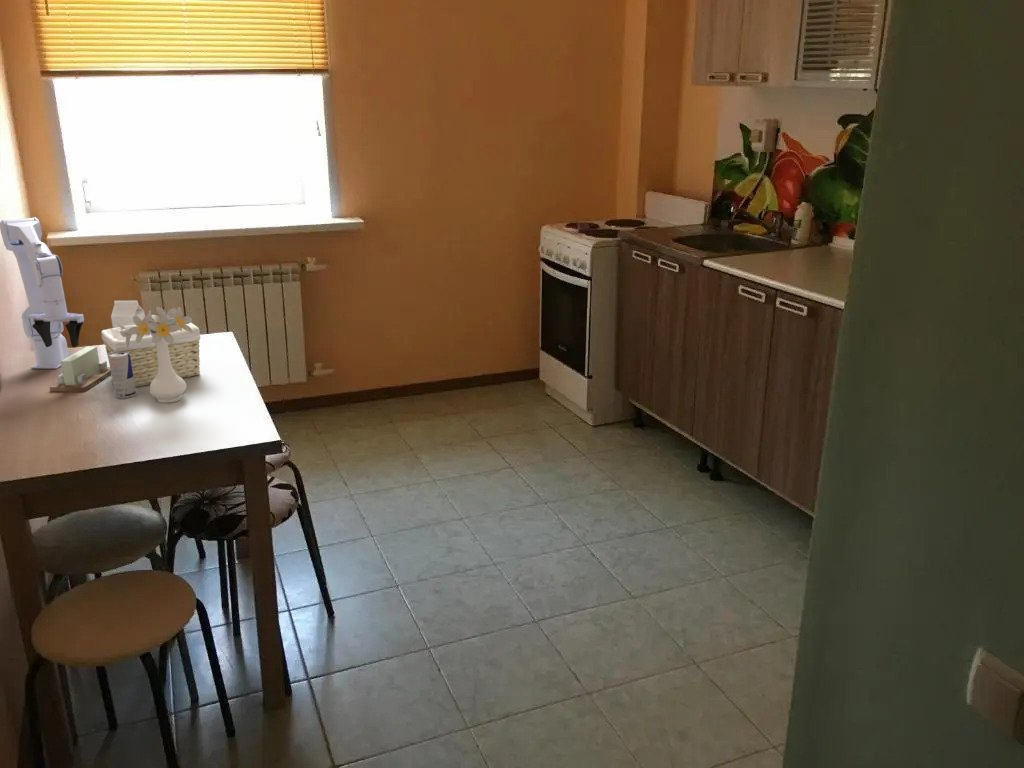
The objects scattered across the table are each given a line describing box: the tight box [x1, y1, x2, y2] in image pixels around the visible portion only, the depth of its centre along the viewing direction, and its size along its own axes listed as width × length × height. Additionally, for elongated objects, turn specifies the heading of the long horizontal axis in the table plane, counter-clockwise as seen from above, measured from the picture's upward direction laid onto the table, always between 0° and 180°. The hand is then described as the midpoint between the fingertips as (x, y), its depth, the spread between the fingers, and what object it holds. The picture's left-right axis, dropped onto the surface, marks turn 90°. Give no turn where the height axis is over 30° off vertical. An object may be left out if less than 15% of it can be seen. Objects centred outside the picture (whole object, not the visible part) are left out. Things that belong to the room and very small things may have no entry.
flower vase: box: [117, 306, 193, 404], centre depth 228 cm, size 13×18×25 cm
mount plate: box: [49, 366, 111, 392], centre depth 247 cm, size 18×10×1 cm, turn 177°
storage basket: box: [101, 322, 201, 388], centre depth 248 cm, size 24×16×15 cm
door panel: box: [60, 346, 100, 385], centre depth 246 cm, size 14×3×7 cm, turn 177°
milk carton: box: [110, 300, 146, 328], centre depth 262 cm, size 7×7×19 cm
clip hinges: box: [56, 360, 108, 385], centre depth 247 cm, size 14×7×2 cm, turn 177°
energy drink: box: [108, 351, 137, 400], centre depth 233 cm, size 5×5×12 cm
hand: (62, 346), depth 244 cm, fingers open, 7 cm apart
